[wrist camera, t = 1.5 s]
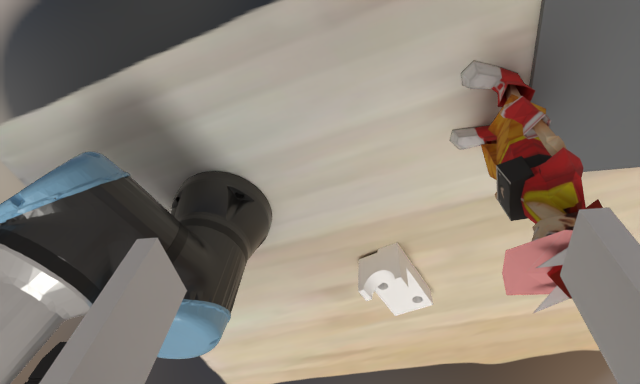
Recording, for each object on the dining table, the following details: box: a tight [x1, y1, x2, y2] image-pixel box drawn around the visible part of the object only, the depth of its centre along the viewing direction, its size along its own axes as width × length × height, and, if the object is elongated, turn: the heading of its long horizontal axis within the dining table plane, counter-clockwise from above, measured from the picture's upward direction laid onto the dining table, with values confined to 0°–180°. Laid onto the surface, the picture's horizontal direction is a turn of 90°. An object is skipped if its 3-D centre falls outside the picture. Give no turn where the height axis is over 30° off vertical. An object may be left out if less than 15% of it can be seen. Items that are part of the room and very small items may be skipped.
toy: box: [450, 61, 603, 313], centre depth 35 cm, size 12×9×30 cm
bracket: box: [358, 242, 433, 316], centre depth 63 cm, size 13×7×8 cm, turn 33°
